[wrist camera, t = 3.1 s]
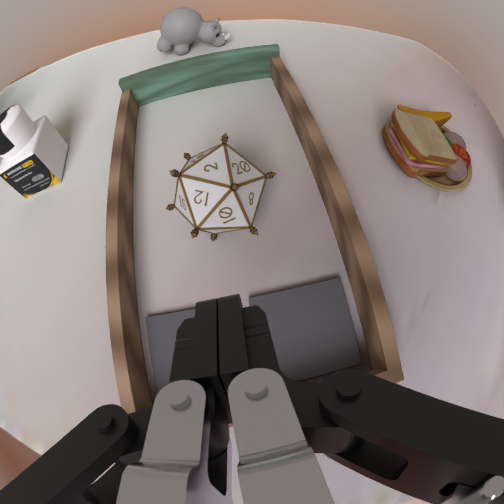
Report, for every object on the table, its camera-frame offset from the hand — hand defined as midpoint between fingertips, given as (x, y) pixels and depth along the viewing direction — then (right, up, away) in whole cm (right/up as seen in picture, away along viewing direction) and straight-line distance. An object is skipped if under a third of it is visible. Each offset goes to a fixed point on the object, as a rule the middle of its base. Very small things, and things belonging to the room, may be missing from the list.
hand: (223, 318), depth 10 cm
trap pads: (+1, -5, +13) cm, 14 cm away
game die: (-2, +6, +17) cm, 18 cm away
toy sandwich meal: (+23, +14, +19) cm, 33 cm away
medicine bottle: (-28, +14, +22) cm, 38 cm away
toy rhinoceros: (-9, +37, +30) cm, 48 cm away
